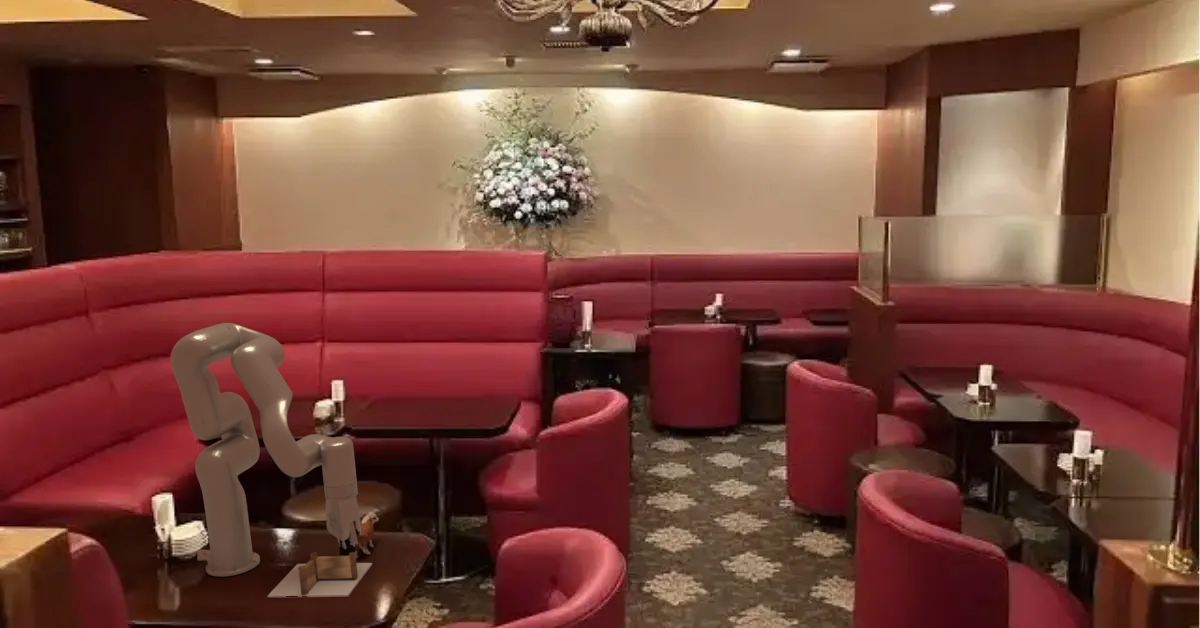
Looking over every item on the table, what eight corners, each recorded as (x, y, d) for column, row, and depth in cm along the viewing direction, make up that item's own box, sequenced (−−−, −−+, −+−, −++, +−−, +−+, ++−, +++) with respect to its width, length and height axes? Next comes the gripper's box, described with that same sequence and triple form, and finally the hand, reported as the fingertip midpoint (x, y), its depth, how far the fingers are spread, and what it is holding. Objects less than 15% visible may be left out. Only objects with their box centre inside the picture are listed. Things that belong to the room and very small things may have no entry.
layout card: (267, 597, 217) (267, 595, 217) (297, 565, 234) (297, 563, 234) (348, 596, 215) (347, 594, 215) (372, 564, 232) (372, 562, 232)
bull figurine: (383, 538, 248) (380, 509, 246) (366, 560, 234) (362, 529, 233) (367, 539, 248) (364, 509, 247) (348, 561, 235) (345, 529, 233)
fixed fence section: (300, 595, 216) (297, 568, 215) (311, 582, 223) (308, 556, 222) (306, 595, 216) (303, 568, 215) (317, 582, 223) (314, 556, 221)
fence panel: (311, 579, 223) (309, 555, 222) (314, 576, 225) (311, 552, 224) (356, 578, 223) (353, 553, 221) (358, 575, 224) (356, 550, 223)
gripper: (313, 485, 229) (321, 557, 232) (339, 501, 217) (346, 576, 220) (342, 478, 233) (349, 548, 236) (369, 493, 222) (376, 566, 225)
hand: (348, 561), depth 228 cm, fingers closed
